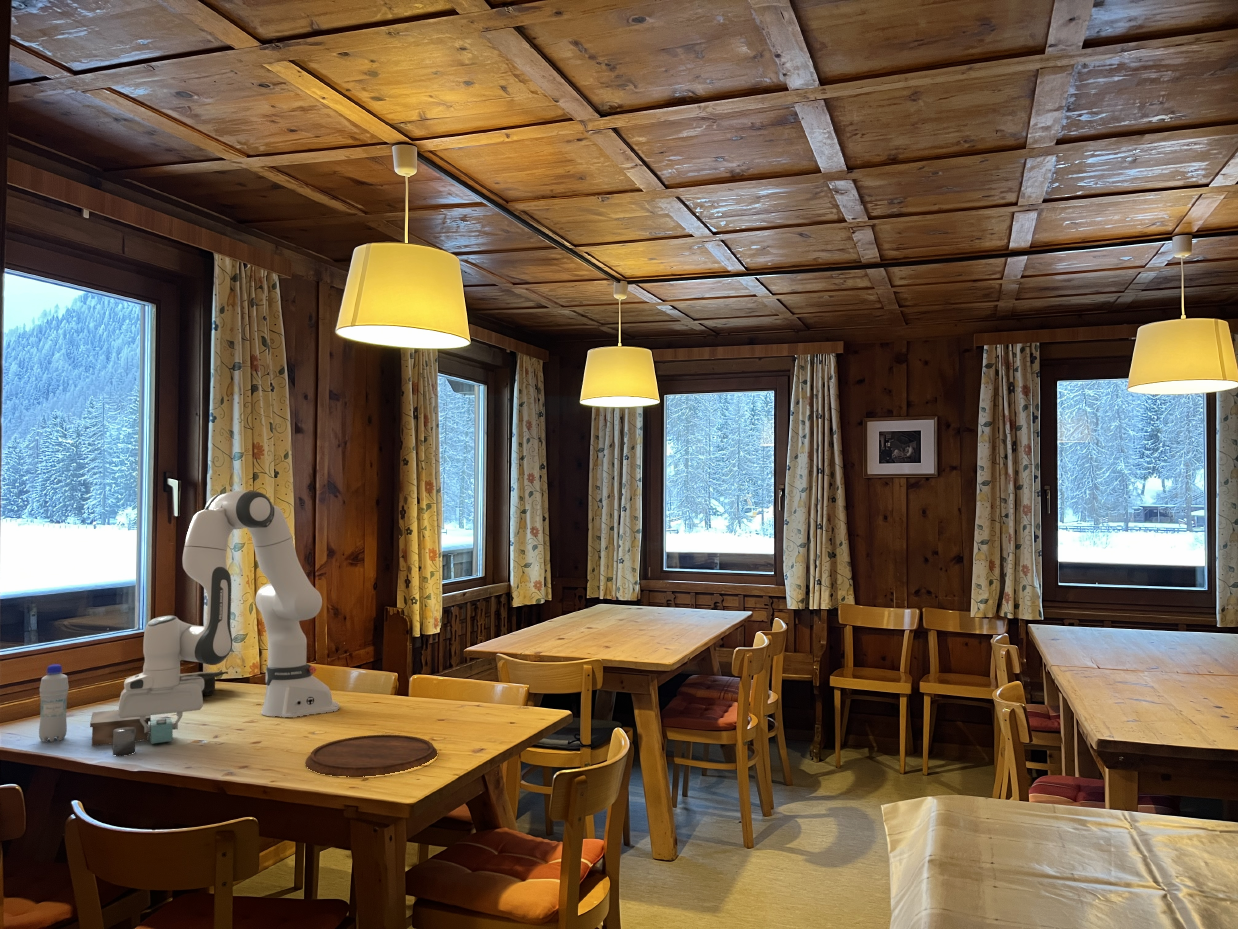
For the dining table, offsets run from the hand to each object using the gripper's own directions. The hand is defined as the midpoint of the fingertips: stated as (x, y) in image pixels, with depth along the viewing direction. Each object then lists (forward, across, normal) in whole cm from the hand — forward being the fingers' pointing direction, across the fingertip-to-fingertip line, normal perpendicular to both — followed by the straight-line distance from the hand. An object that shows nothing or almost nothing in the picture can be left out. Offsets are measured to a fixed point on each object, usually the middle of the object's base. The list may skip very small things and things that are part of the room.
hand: (161, 730), depth 241 cm
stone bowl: (+4, -9, -59) cm, 60 cm away
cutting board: (+4, -46, +41) cm, 62 cm away
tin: (+3, +9, +8) cm, 12 cm away
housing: (+2, 0, 0) cm, 2 cm away
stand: (+3, +10, -10) cm, 14 cm away
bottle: (+3, +26, -15) cm, 30 cm away
